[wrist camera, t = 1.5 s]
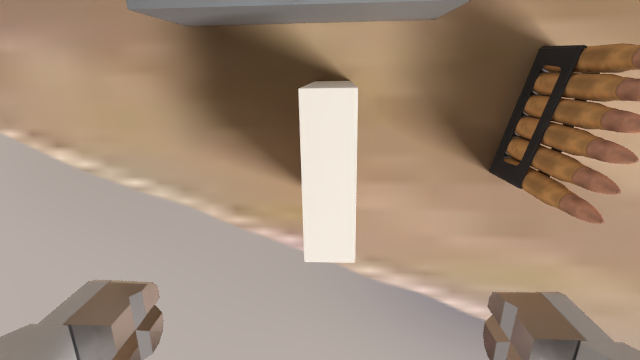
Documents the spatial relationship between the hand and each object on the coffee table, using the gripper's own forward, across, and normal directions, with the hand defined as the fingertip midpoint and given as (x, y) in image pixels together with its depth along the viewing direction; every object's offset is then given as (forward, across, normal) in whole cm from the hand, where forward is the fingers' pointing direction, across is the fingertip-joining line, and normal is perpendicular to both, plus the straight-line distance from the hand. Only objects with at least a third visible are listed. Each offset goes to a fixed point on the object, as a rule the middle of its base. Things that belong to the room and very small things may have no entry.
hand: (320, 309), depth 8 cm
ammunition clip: (+23, -16, -2) cm, 28 cm away
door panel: (+23, 0, 0) cm, 23 cm away
